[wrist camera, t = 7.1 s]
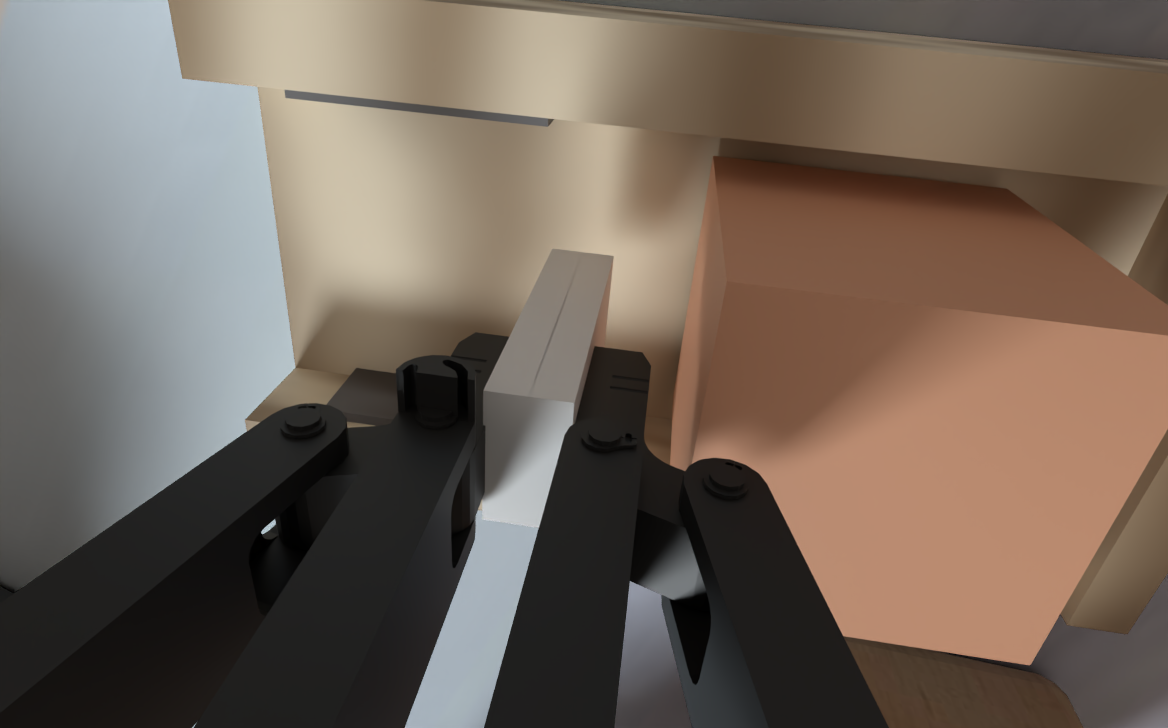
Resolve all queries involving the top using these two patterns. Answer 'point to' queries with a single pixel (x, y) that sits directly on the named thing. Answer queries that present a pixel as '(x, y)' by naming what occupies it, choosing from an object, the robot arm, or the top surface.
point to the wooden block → (957, 690)
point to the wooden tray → (643, 174)
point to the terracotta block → (920, 394)
